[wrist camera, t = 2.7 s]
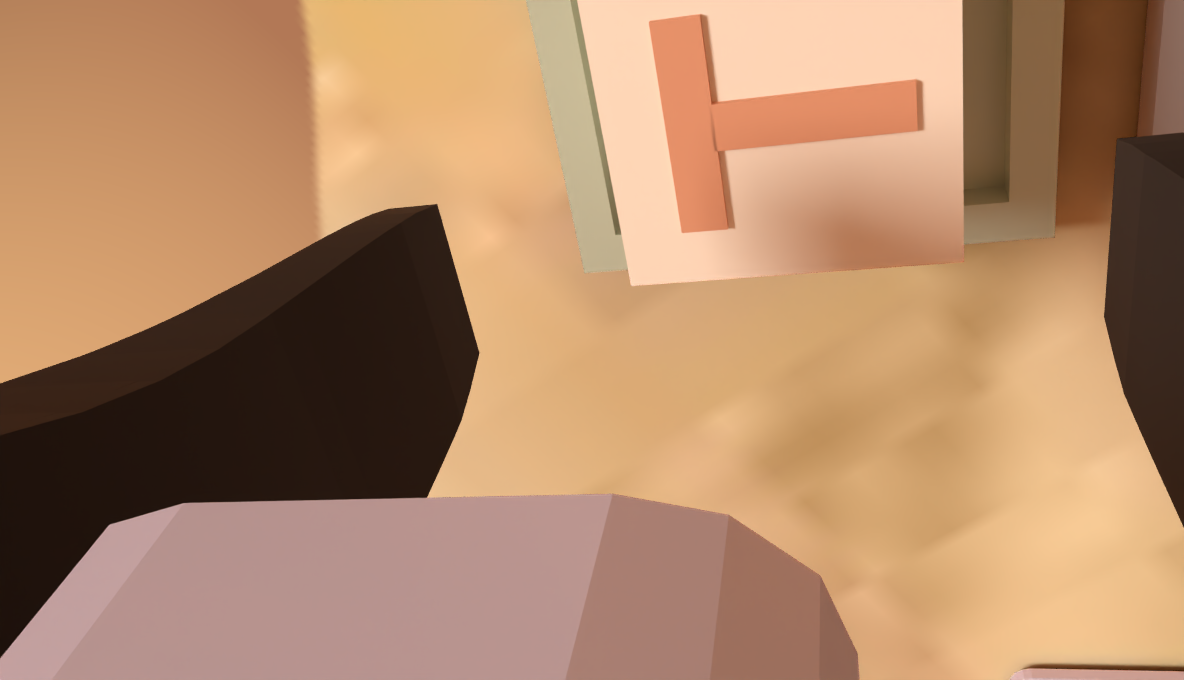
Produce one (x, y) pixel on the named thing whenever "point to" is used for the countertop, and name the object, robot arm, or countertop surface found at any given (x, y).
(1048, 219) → the tray sage
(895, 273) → the countertop surface
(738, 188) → the letter cube
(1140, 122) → the tray grey
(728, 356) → the countertop surface
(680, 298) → the countertop surface
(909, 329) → the countertop surface
